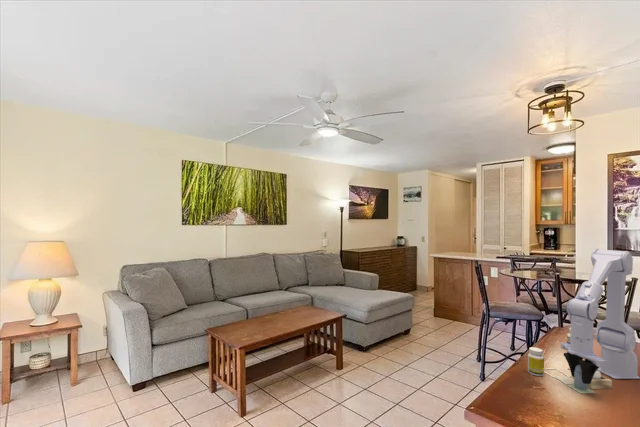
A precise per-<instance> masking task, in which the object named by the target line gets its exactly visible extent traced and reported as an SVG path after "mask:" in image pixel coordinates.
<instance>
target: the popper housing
mask: <svg viewBox="0 0 640 427" xmlns="http://www.w3.org/2000/svg"><path fill="white" fill-rule="evenodd" d="M572 379H573V380H574V377H572ZM588 388H589V389H590V390H601V389H602V390H605V389H606V390H608V389H609V390H610V389H613V380H612V379H610V378H608V377H607V376H604V375H602V374H601V379H592V381H591V384H588Z"/></svg>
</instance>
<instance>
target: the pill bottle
mask: <svg viewBox="0 0 640 427" xmlns="http://www.w3.org/2000/svg"><path fill="white" fill-rule="evenodd" d="M568 329H569V330H568V332H569V333H567V334H566V343H568V344H570V339H571V327H570V328H568ZM567 352H568V351H567V350H566V353H567Z"/></svg>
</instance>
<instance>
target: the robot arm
mask: <svg viewBox="0 0 640 427" xmlns="http://www.w3.org/2000/svg"><path fill="white" fill-rule="evenodd" d="M590 258H591V260H590V261H591V264H592V270H591V272H590V275H589V278H588V280H586V281H584V282H582V284H581V285H580V287H579V289H578V291H577V293H576V295H575V296H574V297H573V298H571V299H569V300H568V302H567V305H566V312H567V314H568V321H569V322H570V328H571V339H570V344H568V343H567V342H561V343H560V349H561V350H565V351H566V352H563V357H564V358H565V360H566V362H567V364H568V368H569V371H570V374H571V377H572V378H573V377H574V370H575V367H576V366H577V365H580V367H581V371H582V381H583V383H584V384H591V381H592V378H593V376H594V374H595V372H596V371H597V370H598V371H599V372H601V374H604V375H606V376H608V377H609V378H612V379H614V380H615V379H616V380H618V379H620V380H626V379H627V380H628V379H629V380H631V379H632V380H633V379H634V380H636V379H638V380H640V376H638V356H637V354H636V353H635V351H634V350H635V348H636V346H637V338H636V335H635V329H634V328H633V327H631V326H630V325H629V324H627V323H626V322H625V304H626V283H627V282H626V281H627V276H630V275H632V273H633V262H634V258H633V256H632V253H630V251H628V250H611V249H599V248H595V249H594V250H592V252H591V255H590ZM606 280H607V282H606ZM605 282H606V284H607V285H606V302H605V303H606V304H605V305H606V308H605V319H603V320H600V321H598V323H597V324H596V330H595V332H594V321H595V319H596V317H597V316H598V311H599V306H600V305H599V302H600V299H601V297H602V295H603V293H604V288H603V286H602V285H604V283H605ZM594 338H595V341H596V343H597V344H598V345H599V347H601V349H600V350H601V353H600V354H601V356H600V357H599V356H598V355H597V354H596V353H594ZM567 351H568V352H567Z"/></svg>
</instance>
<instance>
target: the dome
mask: <svg viewBox="0 0 640 427" xmlns="http://www.w3.org/2000/svg"><path fill="white" fill-rule="evenodd" d="M601 375H602V372H600V371H598V370H597V371H596V372H595V374H594V376H593V378H592V379H601Z"/></svg>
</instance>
